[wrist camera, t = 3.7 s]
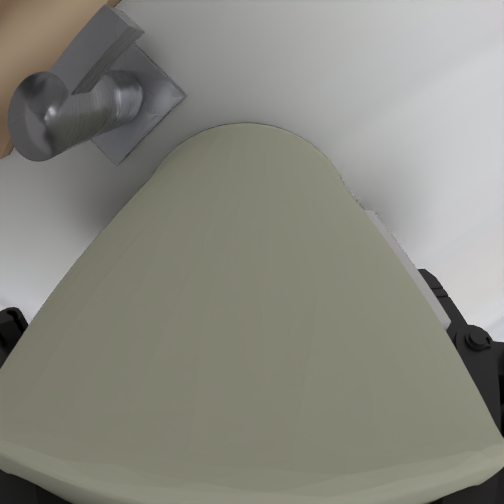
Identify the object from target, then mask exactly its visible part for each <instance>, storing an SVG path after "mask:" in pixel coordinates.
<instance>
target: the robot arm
mask: <svg viewBox="0 0 504 504" xmlns="http://www.w3.org/2000/svg"><path fill="white" fill-rule="evenodd" d="M364 211H365V213H366V214H367V215H368V216H369V218H370V219H371V220H372V222H373V223H374V224H375V226H376V227H377V228H378V230H379V231H380V233H381V234H382V235H383V237H384V238H385V239H386V241H387V242H388V244H389V245H390V247H391V248H392V249H393V251H394V252H395V254H396V255H397V257H398V258H399V259H400V261H401V262H402V264H403V265H404V267H405V268H406V270H407V271H408V273H409V274H410V276H411V277H412V279H413V280H414V282H415V283H416V284H417V286H418V288H419V289H420V291H421V292H422V294H423V295H424V297H425V298H426V300H427V301H428V303H429V305H430V306H431V308H432V309H433V311H434V313H435V314H436V316H437V317H438V319H439V321H440V322H441V324H442V326H443V327H444V329H445V331H446V332H447V334H448V336H449V338H450V339H451V341H452V343H453V345H454V346H455V348H456V350H457V352H458V354H459V355H460V357H461V359H462V361H463V363H464V365H465V367H466V368H467V370H468V372H469V374H470V376H471V378H472V380H473V381H474V383H475V385H476V387H477V389H478V391H479V393H480V395H481V396H482V398H483V400H484V402H485V404H486V406H487V408H488V410H489V412H490V414H491V417H492V419H493V421H494V423H495V425H496V426H497V428H498V430H499V432H500V434H501V435H502V437H503V438H504V342H496V341H493V340H492V338H491V337H490V335H489V334H488V333H487V332H486V331H484V330H483V329H482V328H480V327H477V326H475V325H468V324H467V323H466V321H465V319H464V318H463V316H462V315H461V313H460V312H459V310H458V309H457V307H456V306H455V304H454V303H453V301H452V300H451V298H450V297H448V294H447V292H446V291H445V290H444V289H443V287H442V285H441V284H440V283H439V281H438V280H437V278H436V277H435V276H433V275H432V274H431V273H429V272H428V271H427V270H426V269H417V268H416V267H415V266H414V264H413V263H412V261H411V260H410V259H409V257H408V256H407V254H406V253H405V252H404V250H403V249H402V248H401V246H400V245H399V244H398V242H397V241H396V240H395V238H394V237H393V236H392V234H391V233H390V232H389V231H388V229H387V228H386V227H385V225H384V224H383V223H382V222H381V220H380V219H379V218H378V217H377V215H376V214H375V213H374V212H373V210H364ZM28 326H29V325H28V323H27V321H26V320H25V318H24V316H23V314H22V312H21V311H20V310H19V309H18V308H15V307H11V308H6V309H4V310H2V311H0V369H1V367H2V366H3V364H4V363H5V361H6V359H7V358H8V356H9V355H10V353H11V352H12V350H13V349H14V347H15V346H16V344H17V343H18V341H19V340H20V338H21V336H22V335H23V333H24V332H25V330H26V329H27V327H28ZM0 504H73V503H70V502H68V501H66V500H64V499H62V498H60V497H58V496H56V495H54V494H53V493H51V492H49V491H47V490H45V489H43V488H41V487H40V486H38V485H36V484H34V483H32V482H30V481H28V480H26V479H23V478H21V477H19V476H17V475H14V474H11V473H9V474H8V473H6V472H4V471H3V470H1V469H0ZM429 504H504V467H503V468H502V469H501V470H499V471H498V472H497V473H496V474H494V475H493V476H492V477H490V478H489V479H487V480H486V481H485V482H483V483H481V484H480V485H477V486H476V485H474V486H470V487H467V488H464V489H462V490H459V491H456V492H454V493H451V494H449V495H446V496H444V497H442V498H440V499H438V500H436V501H434V502H431V503H429Z"/></svg>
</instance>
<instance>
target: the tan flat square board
mask: <svg viewBox="0 0 504 504" xmlns="http://www.w3.org/2000/svg"><path fill="white" fill-rule="evenodd" d="M119 1H120V0H0V159H2V158H4V157H6V156H8V155H9V154H10V152H11V150H12V148H13V146H14V145H13V143H12V141H11V138H10V135H9V130H8V120H7V117H8V109H9V104H10V101H11V98H12V96H13V94H14V92H15V90H16V88H17V87H18V86H19V84H20V83H21V82H22V81H23V80H24V79H25V78H27V77H28V76H30V75H31V74H34V73H36V72H42V71H50V69H51V68H52V66H53V65H54V64H55V62H56V61H57V60H58V58H59V57H60V56H61V54H62V53H63V52H64V50H65V49H66V48H67V46H68V45H69V44H70V43H71V41H72V40H73V39H74V38H75V36H76V35H77V34H78V33H79V32H80V30H81V29H82V28H83V27H84V26H85V25H86V24H87V22H88V21H89V20H90V19H91V18H92V17H93V16H94V15H95V14H96V13H97V11H98V10H99V9H100V8H101V7H102V6H103V5H104V4H106V5H109V6H111V7H114V6H115V5H116V4H117V3H118V2H119Z"/></svg>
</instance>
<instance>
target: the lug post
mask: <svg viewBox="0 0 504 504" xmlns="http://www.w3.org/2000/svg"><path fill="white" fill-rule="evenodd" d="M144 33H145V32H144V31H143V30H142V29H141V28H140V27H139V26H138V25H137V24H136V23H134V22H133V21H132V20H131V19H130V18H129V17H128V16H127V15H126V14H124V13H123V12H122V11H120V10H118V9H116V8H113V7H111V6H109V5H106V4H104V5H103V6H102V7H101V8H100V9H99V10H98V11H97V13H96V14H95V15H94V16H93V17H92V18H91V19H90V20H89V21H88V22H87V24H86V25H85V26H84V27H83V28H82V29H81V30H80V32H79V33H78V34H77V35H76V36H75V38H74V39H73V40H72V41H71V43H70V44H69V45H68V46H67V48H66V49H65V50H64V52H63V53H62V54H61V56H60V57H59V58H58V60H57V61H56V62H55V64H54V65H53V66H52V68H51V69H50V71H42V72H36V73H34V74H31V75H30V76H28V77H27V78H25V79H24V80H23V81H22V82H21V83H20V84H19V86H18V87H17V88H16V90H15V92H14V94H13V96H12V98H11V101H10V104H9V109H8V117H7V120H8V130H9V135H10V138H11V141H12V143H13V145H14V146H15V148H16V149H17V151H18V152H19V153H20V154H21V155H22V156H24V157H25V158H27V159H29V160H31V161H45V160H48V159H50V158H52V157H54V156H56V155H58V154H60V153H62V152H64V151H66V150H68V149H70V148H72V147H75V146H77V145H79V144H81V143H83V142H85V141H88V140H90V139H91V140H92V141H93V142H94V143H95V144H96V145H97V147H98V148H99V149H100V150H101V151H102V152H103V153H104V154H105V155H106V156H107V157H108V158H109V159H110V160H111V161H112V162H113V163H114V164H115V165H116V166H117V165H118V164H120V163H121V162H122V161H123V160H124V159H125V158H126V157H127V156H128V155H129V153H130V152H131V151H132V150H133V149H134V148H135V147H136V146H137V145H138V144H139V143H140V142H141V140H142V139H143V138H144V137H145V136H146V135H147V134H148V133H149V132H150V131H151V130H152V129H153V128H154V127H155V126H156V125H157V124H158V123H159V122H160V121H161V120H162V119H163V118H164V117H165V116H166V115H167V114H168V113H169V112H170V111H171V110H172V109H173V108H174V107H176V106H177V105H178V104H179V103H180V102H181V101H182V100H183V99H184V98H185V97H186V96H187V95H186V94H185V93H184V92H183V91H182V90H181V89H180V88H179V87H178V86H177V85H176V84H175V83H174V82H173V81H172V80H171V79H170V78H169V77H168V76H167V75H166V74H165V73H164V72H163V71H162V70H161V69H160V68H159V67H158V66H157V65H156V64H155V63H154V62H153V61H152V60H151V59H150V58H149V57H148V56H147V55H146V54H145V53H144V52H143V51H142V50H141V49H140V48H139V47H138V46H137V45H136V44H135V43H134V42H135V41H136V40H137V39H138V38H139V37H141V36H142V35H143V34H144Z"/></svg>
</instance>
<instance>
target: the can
mask: <svg viewBox="0 0 504 504" xmlns="http://www.w3.org/2000/svg"><path fill="white" fill-rule="evenodd" d="M503 467H504V438H503V437H502V435H501V434H500V432H499V430H498V428H497V426H496V425H495V423H494V421H493V419H492V417H491V414H490V412H489V410H488V408H487V406H486V404H485V402H484V400H483V398H482V396H481V395H480V393H479V391H478V389H477V387H476V385H475V383H474V381H473V380H472V378H471V376H470V374H469V372H468V370H467V368H466V367H465V365H464V363H463V361H462V359H461V357H460V355H459V354H458V352H457V350H456V348H455V346H454V345H453V343H452V341H451V339H450V338H449V336H448V334H447V332H446V331H445V329H444V327H443V326H442V324H441V322H440V321H439V319H438V317H437V316H436V314H435V313H434V311H433V309H432V308H431V306H430V305H429V303H428V301H427V300H426V298H425V297H424V295H423V294H422V292H421V291H420V289H419V288H418V286H417V284H416V283H415V282H414V280H413V279H412V277H411V276H410V274H409V273H408V271H407V270H406V268H405V267H404V265H403V264H402V262H401V261H400V259H399V258H398V257H397V255H396V254H395V252H394V251H393V249H392V248H391V247H390V245H389V244H388V242H387V241H386V239H385V238H384V237H383V235H382V234H381V233H380V231H379V230H378V228H377V227H376V226H375V224H374V223H373V222H372V220H371V219H370V218H369V216H368V215H367V214H366V213H365V211H364V210H363V209H362V207H361V206H360V205H359V203H358V202H357V201H356V200H355V198H354V197H353V196H352V195H351V193H350V192H349V191H348V190H347V188H346V187H345V185H344V183H343V181H342V179H341V177H340V175H339V173H338V172H337V170H336V169H335V167H334V166H333V165H332V163H331V162H330V161H329V160H328V158H327V157H326V156H325V155H324V154H323V153H322V152H321V151H319V150H318V149H317V148H316V147H315V146H313V145H312V144H310V143H309V142H307V141H306V140H304V139H303V138H301V137H299V136H297V135H295V134H293V133H291V132H288V131H286V130H283V129H281V128H277V127H274V126H269V125H263V124H255V123H237V124H228V125H222V126H218V127H214V128H211V129H208V130H205V131H203V132H200V133H198V134H196V135H194V136H192V137H191V138H189V139H187V140H185V141H184V142H183V143H181V144H180V145H178V146H177V147H176V148H175V149H174V150H173V151H171V152H170V153H169V154H168V155H167V156H166V158H165V159H164V160H163V161H162V162H161V164H160V165H159V166H158V168H157V169H156V170H155V172H154V174H153V176H152V177H151V178H150V179H149V180H148V181H147V182H146V183H145V184H144V185H143V187H142V188H141V189H140V190H139V191H138V192H137V193H136V194H135V195H134V196H133V197H132V198H131V199H130V200H129V201H128V202H127V204H126V205H125V206H124V207H123V208H122V209H121V210H120V211H119V212H118V214H117V215H116V216H115V217H114V218H113V219H112V220H111V221H110V223H109V224H108V225H107V226H106V227H105V228H104V229H103V230H102V232H101V233H100V234H99V235H98V236H97V237H96V238H95V240H94V241H93V242H92V243H91V244H90V245H89V247H88V248H87V249H86V250H85V251H84V253H83V254H82V255H81V256H80V257H79V259H78V260H77V261H76V262H75V264H74V265H73V266H72V267H71V268H70V270H69V271H68V272H67V274H66V275H65V276H64V277H63V279H62V280H61V281H60V283H59V284H58V285H57V287H56V288H55V289H54V291H53V292H52V293H51V295H50V296H49V297H48V299H47V300H46V301H45V303H44V304H43V306H42V307H41V308H40V310H39V311H38V313H37V314H36V316H35V317H34V318H33V320H32V321H31V323H30V324H29V326H28V327H27V329H26V330H25V332H24V333H23V335H22V336H21V338H20V340H19V341H18V343H17V344H16V346H15V347H14V349H13V350H12V352H11V353H10V355H9V356H8V358H7V359H6V361H5V363H4V364H3V366H2V367H1V369H0V469H1V470H3V471H4V472H6V473H8V474H9V473H11V474H14V475H17V476H19V477H21V478H23V479H26V480H28V481H30V482H32V483H34V484H36V485H38V486H40V487H41V488H43V489H45V490H47V491H49V492H51V493H53V494H54V495H56V496H58V497H60V498H62V499H64V500H66V501H68V502H70V503H73V504H429V503H431V502H434V501H436V500H438V499H440V498H442V497H444V496H446V495H449V494H451V493H454V492H456V491H459V490H462V489H464V488H467V487H470V486H474V485H476V486H477V485H480V484H481V483H483V482H485V481H486V480H487V479H489V478H490V477H492V476H493V475H494V474H496V473H497V472H498V471H499V470H501V469H502V468H503Z"/></svg>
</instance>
